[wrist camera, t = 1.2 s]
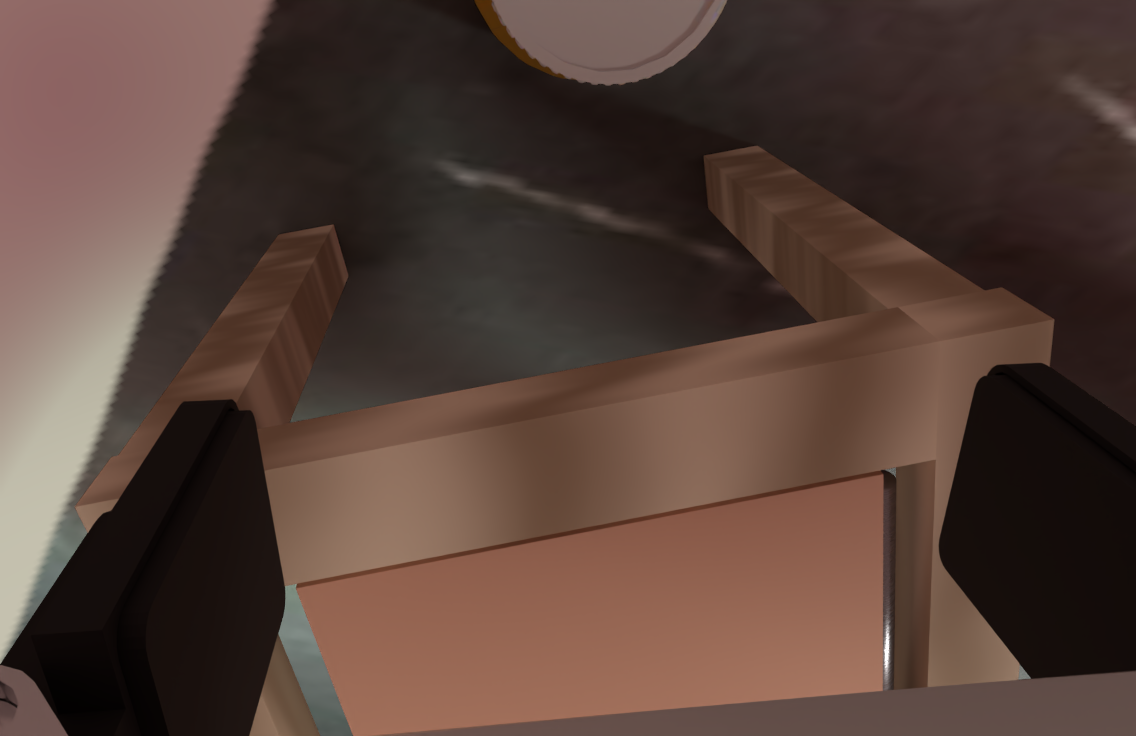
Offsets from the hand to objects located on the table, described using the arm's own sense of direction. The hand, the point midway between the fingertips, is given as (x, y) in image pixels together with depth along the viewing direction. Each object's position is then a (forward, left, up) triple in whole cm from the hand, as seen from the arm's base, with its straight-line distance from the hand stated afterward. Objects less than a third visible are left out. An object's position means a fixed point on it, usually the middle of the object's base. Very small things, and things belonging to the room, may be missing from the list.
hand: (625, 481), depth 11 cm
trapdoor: (0, +13, -8) cm, 15 cm away
